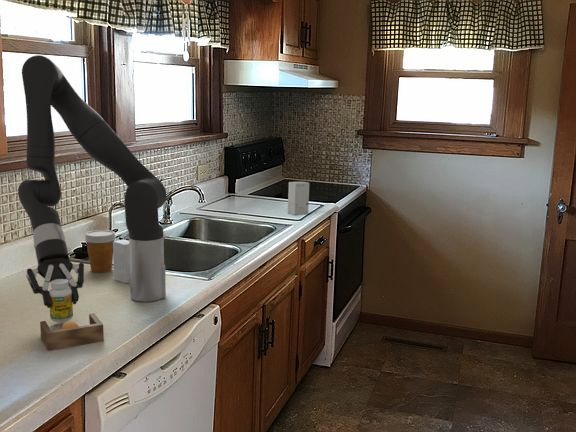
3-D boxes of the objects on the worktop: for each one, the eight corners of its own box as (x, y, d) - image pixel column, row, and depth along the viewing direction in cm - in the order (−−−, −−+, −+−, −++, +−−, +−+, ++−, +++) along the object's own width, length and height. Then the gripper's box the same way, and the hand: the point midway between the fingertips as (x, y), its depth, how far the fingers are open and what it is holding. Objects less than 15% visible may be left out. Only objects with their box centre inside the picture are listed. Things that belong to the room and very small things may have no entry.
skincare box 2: (294, 215, 293) (295, 183, 289) (286, 213, 297) (287, 181, 294) (309, 213, 297) (310, 182, 294) (301, 211, 302) (302, 180, 299)
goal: (94, 328, 155) (94, 313, 154) (103, 340, 148) (103, 324, 147) (40, 337, 148) (40, 321, 148) (47, 350, 142) (46, 333, 141)
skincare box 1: (137, 280, 192) (136, 242, 190) (126, 283, 189) (125, 244, 187) (124, 276, 196) (123, 238, 193) (113, 279, 193) (112, 241, 190)
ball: (82, 331, 147) (80, 338, 150) (76, 316, 149) (74, 323, 152) (65, 336, 145) (63, 343, 148) (59, 321, 146) (57, 328, 150)
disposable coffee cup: (91, 265, 207) (90, 229, 205) (120, 266, 207) (119, 230, 204) (81, 273, 198) (79, 236, 195) (111, 274, 197) (110, 237, 195)
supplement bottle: (69, 312, 161) (68, 276, 159) (75, 319, 156) (74, 282, 154) (47, 316, 158) (45, 279, 156) (53, 323, 154) (51, 286, 152)
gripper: (21, 240, 156) (32, 302, 148) (81, 234, 163) (94, 293, 156) (19, 256, 161) (29, 316, 154) (77, 249, 169) (90, 307, 161)
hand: (62, 304), depth 155 cm, fingers closed on supplement bottle, 5 cm apart
